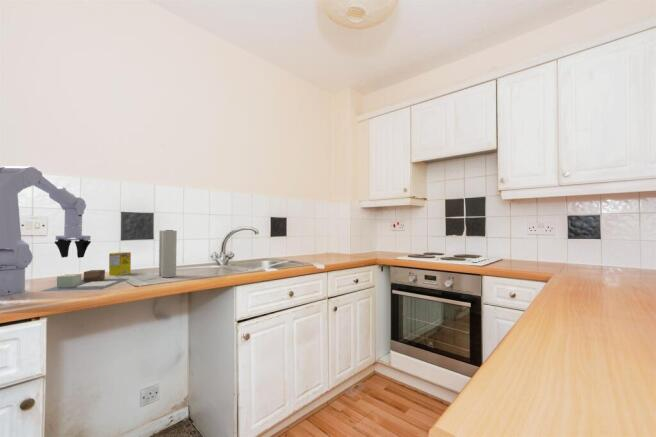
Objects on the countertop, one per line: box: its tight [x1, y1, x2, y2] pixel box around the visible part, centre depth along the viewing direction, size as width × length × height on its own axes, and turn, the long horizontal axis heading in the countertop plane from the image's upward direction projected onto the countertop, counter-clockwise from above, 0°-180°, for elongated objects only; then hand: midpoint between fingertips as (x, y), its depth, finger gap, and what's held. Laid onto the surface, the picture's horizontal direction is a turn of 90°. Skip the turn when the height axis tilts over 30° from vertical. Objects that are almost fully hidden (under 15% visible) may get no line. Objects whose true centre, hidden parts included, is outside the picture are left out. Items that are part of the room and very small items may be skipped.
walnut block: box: [83, 269, 106, 282], centre depth 121 cm, size 5×5×4 cm
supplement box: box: [108, 251, 132, 276], centre depth 138 cm, size 6×6×11 cm
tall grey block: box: [158, 229, 178, 278], centre depth 137 cm, size 7×6×21 cm
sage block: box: [56, 273, 82, 288], centre depth 111 cm, size 5×5×4 cm
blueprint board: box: [41, 278, 129, 292], centre depth 114 cm, size 21×19×2 cm
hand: (72, 257), depth 127 cm, fingers open, 7 cm apart
